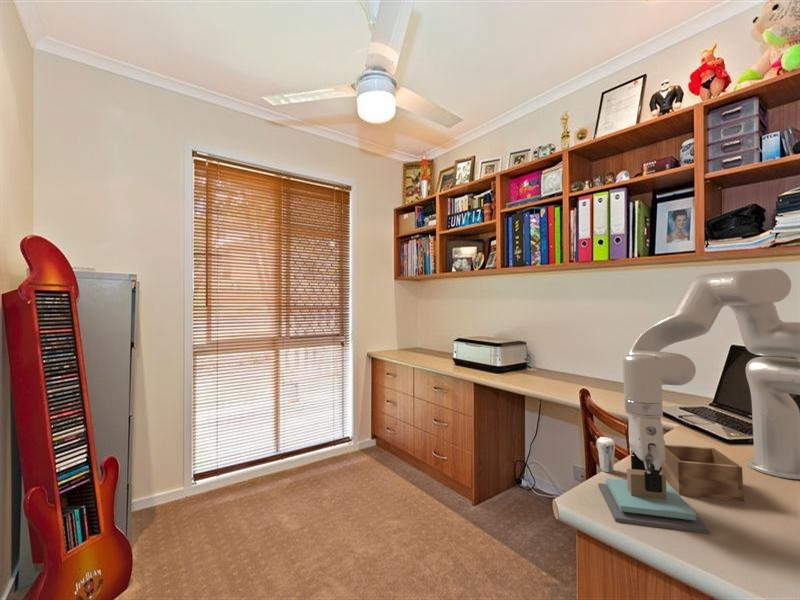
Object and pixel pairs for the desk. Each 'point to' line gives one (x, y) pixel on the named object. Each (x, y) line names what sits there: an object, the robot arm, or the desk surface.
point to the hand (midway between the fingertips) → (645, 481)
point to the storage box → (702, 473)
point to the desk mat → (649, 516)
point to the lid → (648, 497)
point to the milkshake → (606, 454)
